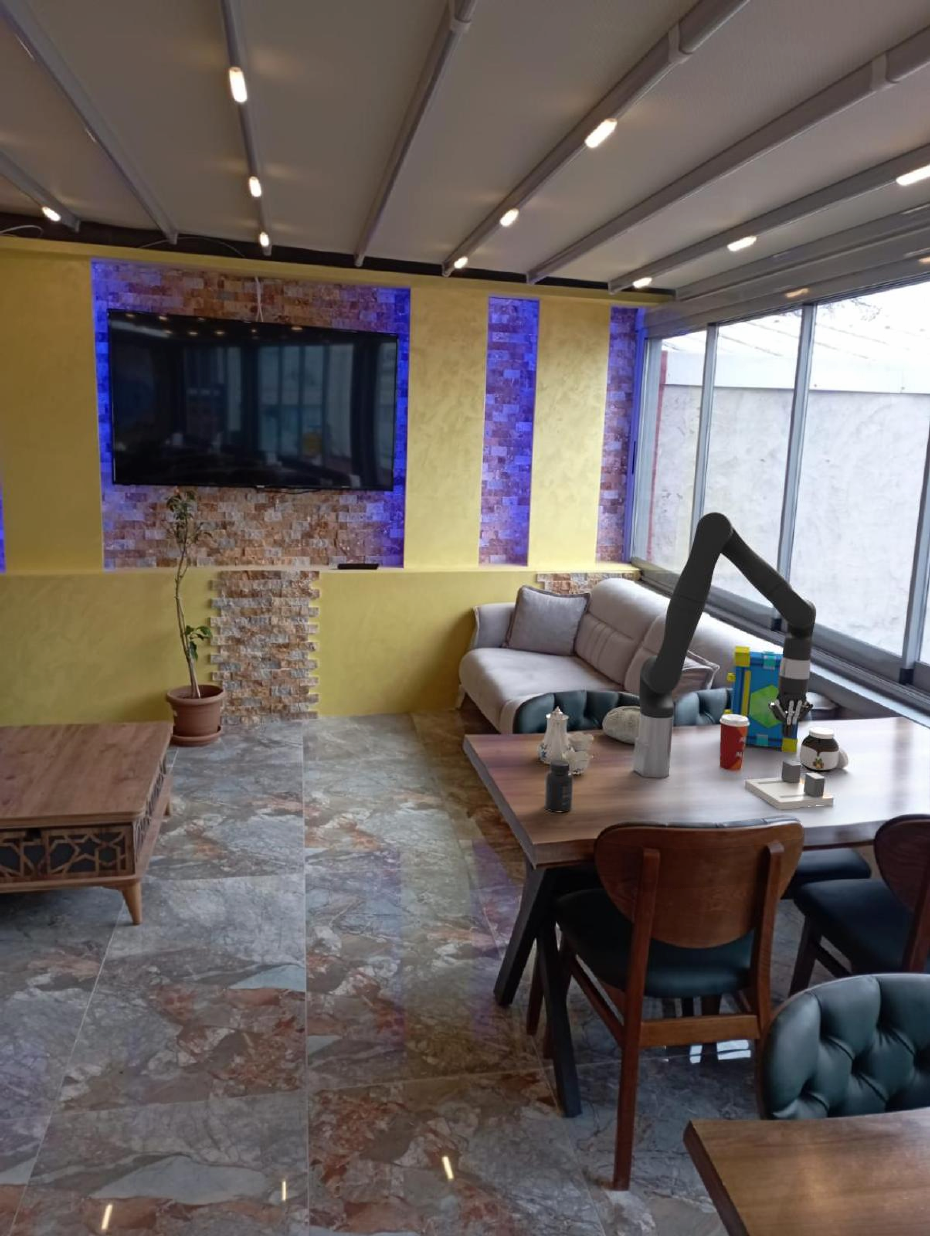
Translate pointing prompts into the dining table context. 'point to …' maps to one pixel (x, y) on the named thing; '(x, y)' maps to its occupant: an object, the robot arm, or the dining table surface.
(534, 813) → the dining table surface
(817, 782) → the breaker
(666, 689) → the robot arm
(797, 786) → the panel
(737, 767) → the coffee cup
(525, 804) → the dining table surface
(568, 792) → the supplement bottle
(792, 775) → the block
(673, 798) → the dining table surface
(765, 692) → the blue yellow rectangular box
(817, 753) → the spread jar
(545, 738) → the chinaware
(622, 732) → the decorative shell
